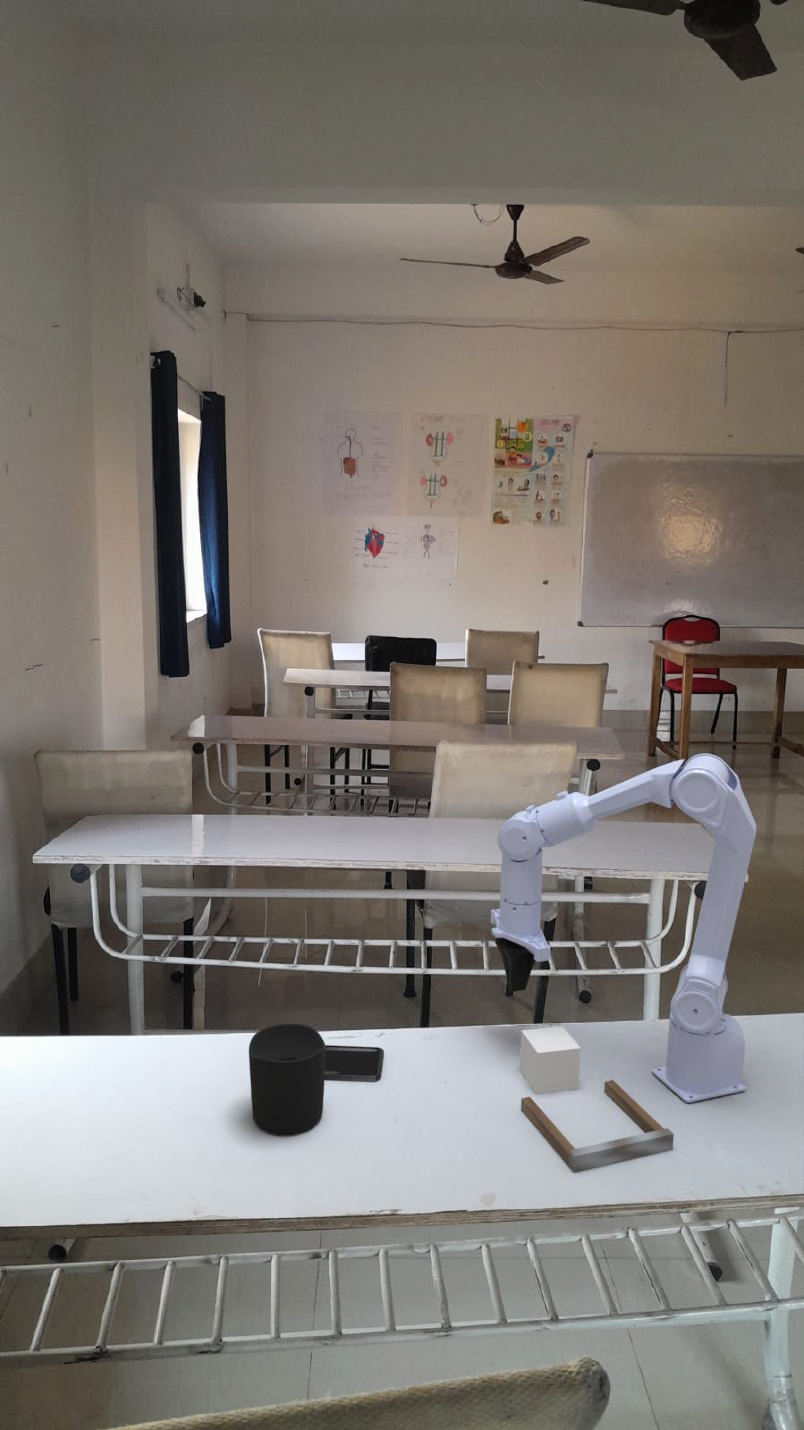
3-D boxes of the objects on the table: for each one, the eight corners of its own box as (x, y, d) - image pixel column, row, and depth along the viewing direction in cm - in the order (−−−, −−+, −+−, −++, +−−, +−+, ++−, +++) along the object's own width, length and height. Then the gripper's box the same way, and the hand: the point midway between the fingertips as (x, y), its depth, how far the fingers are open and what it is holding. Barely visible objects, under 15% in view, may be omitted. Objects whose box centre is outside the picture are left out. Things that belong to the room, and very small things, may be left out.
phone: (278, 1043, 136) (384, 1047, 136) (278, 1050, 137) (384, 1054, 136) (268, 1073, 129) (380, 1077, 128) (268, 1080, 129) (380, 1085, 128)
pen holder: (339, 1106, 123) (339, 1033, 121) (301, 1147, 114) (300, 1069, 112) (275, 1088, 126) (275, 1017, 125) (234, 1126, 118) (233, 1051, 116)
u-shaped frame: (612, 1090, 127) (613, 1076, 127) (672, 1149, 115) (673, 1133, 115) (520, 1109, 123) (521, 1094, 122) (573, 1172, 110) (574, 1156, 110)
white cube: (578, 1090, 127) (580, 1048, 126) (535, 1095, 126) (537, 1053, 125) (560, 1066, 133) (562, 1025, 132) (519, 1071, 132) (521, 1030, 131)
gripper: (473, 883, 140) (470, 971, 143) (518, 920, 127) (514, 1016, 129) (516, 878, 143) (513, 964, 145) (565, 913, 129) (561, 1008, 132)
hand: (517, 988), depth 137 cm, fingers closed
